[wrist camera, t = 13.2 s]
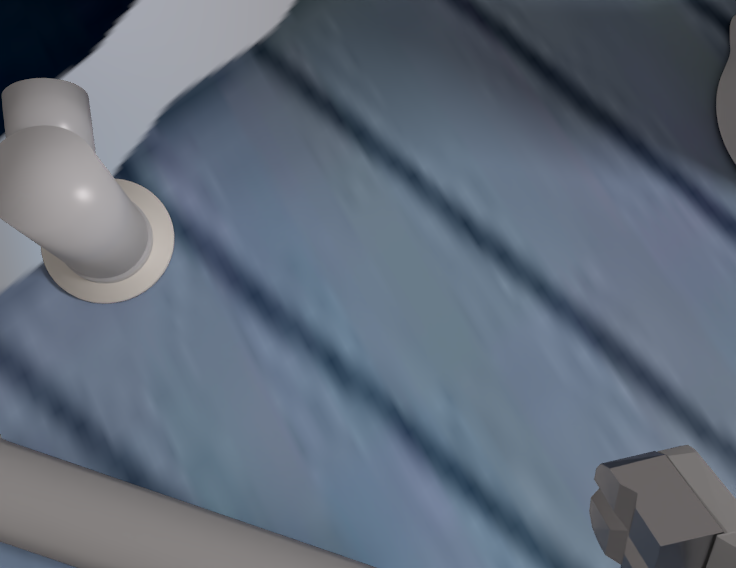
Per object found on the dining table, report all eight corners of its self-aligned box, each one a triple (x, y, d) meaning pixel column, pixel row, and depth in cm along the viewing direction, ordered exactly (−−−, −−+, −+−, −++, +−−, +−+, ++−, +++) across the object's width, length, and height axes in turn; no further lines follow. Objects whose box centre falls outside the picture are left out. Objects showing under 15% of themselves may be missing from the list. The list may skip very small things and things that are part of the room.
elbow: (158, 275, 42) (110, 224, 32) (67, 290, 42) (-15, 243, 31) (142, 158, 44) (90, 71, 33) (53, 171, 43) (-30, 86, 32)
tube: (420, 567, 37) (-22, 415, 36) (395, 677, 34) (-84, 515, 34) (397, 579, 42) (3, 444, 41) (373, 676, 39) (-49, 533, 38)
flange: (140, 159, 44) (139, 158, 44) (196, 266, 43) (195, 265, 43) (21, 214, 43) (19, 212, 42) (75, 326, 42) (74, 325, 41)
